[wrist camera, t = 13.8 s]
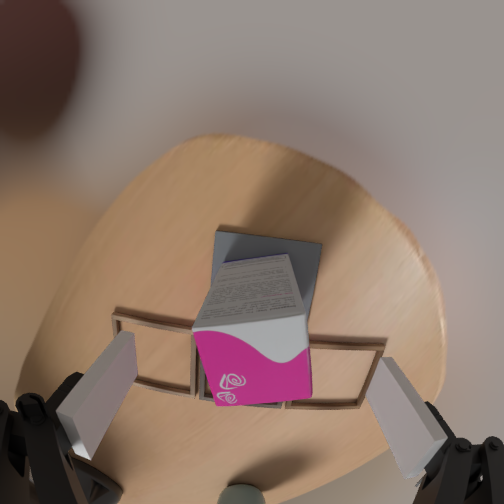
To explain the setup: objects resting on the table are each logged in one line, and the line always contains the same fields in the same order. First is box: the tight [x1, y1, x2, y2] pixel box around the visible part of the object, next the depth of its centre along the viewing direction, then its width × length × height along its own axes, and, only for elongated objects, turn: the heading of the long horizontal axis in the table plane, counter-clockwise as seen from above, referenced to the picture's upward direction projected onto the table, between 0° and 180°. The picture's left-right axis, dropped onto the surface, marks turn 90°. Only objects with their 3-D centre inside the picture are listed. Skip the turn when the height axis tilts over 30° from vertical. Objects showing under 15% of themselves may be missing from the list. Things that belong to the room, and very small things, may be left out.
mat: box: [211, 230, 322, 319], centre depth 25 cm, size 9×9×1 cm
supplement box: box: [192, 253, 312, 406], centre depth 19 cm, size 6×6×12 cm
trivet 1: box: [111, 312, 197, 399], centre depth 27 cm, size 9×9×1 cm
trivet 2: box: [285, 341, 385, 410], centre depth 27 cm, size 9×9×1 cm
